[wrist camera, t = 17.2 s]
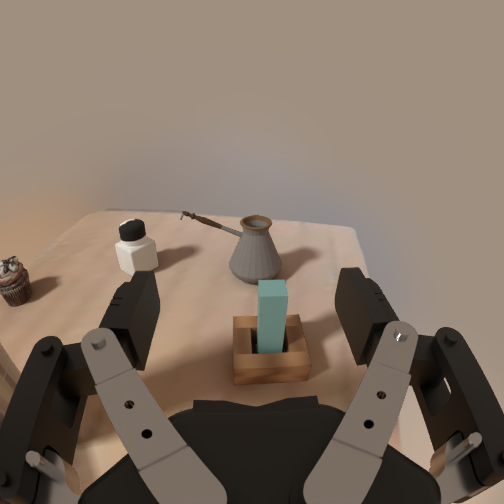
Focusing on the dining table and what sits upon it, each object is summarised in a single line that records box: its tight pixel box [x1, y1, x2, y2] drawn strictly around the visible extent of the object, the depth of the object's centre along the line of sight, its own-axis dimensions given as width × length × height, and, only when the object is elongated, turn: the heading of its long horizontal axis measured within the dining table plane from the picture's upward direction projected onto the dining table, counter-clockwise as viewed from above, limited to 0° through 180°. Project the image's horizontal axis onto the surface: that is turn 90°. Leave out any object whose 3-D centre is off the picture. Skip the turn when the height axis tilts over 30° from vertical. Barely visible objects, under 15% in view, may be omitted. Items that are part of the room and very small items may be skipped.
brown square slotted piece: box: [233, 315, 311, 384], centre depth 45 cm, size 11×11×4 cm
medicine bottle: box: [115, 219, 159, 277], centre depth 65 cm, size 7×7×12 cm
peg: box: [257, 280, 288, 354], centre depth 42 cm, size 4×4×14 cm
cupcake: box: [0, 256, 32, 307], centre depth 52 cm, size 10×10×10 cm
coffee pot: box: [180, 211, 282, 284], centre depth 63 cm, size 21×12×15 cm, turn 88°
